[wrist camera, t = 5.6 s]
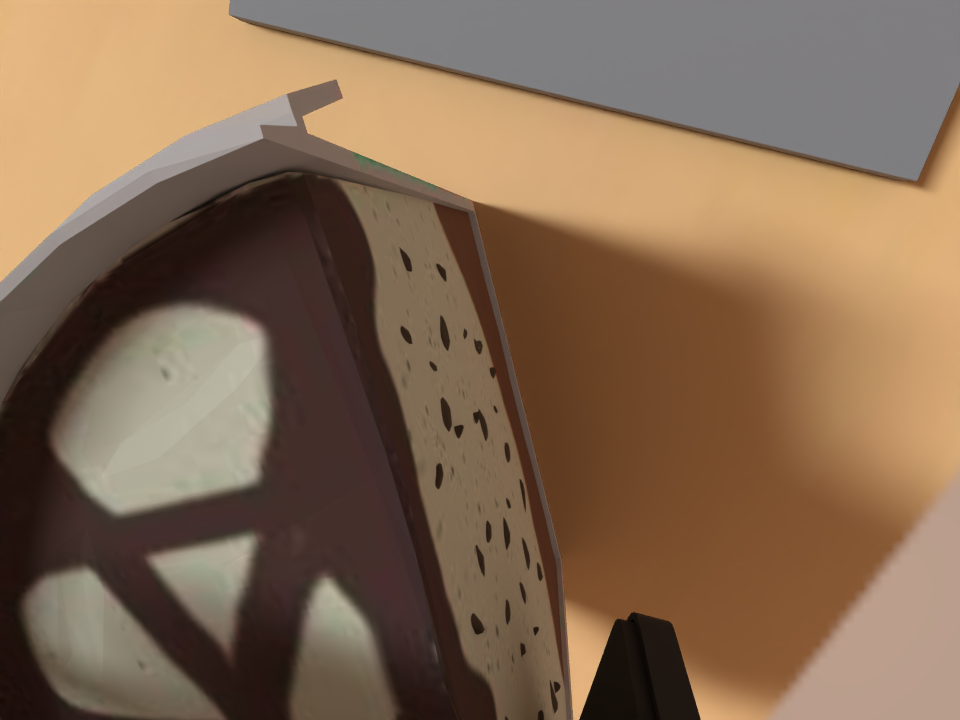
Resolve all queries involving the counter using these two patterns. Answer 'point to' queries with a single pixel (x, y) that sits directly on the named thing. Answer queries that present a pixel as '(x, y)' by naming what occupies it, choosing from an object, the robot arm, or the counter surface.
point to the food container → (270, 450)
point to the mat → (687, 62)
